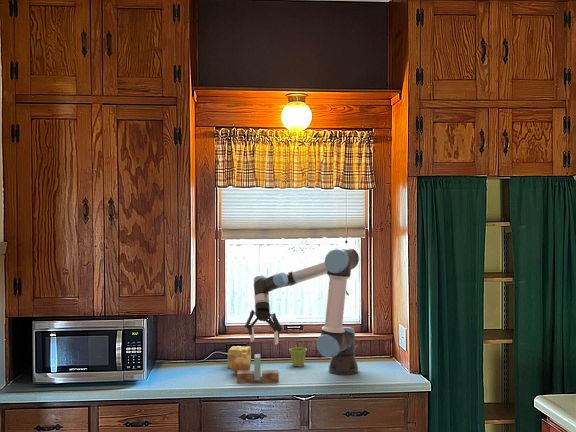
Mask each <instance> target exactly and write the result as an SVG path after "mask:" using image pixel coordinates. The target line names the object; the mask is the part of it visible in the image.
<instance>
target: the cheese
mask: <svg viewBox="0 0 576 432" xmlns="http://www.w3.org/2000/svg"><path fill="white" fill-rule="evenodd" d="M237 357H243V358H245V359H246V360H248V361H249V363H250V364H251V362H252V361H251V360H252V349H251V346H250V345H249V346H235V345H233V346H231V347H230V348H229V349H228V350H227V367H228V369H232V364H233V361H234V360H235V359H236V358H237Z"/></svg>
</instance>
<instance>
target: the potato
mask: <svg viewBox="0 0 576 432" xmlns="http://www.w3.org/2000/svg"><path fill="white" fill-rule="evenodd" d="M231 369H232V371H233V373H235V374H236V375H237V372H238V371H251V363H249V361H248V360H246V359H245V358H243V357H237V358H236V359H235V360H234V361H233V364H232V368H231Z"/></svg>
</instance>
